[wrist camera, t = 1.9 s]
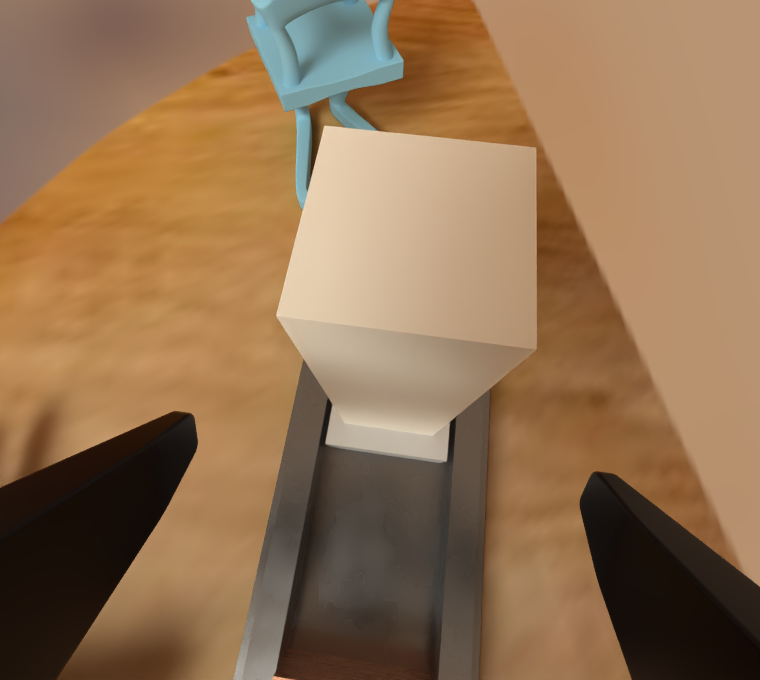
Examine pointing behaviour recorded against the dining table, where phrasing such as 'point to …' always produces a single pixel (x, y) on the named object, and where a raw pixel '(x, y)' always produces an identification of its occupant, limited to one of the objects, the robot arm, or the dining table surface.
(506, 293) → the slider
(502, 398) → the dining table surface
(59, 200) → the dining table surface
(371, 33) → the chair
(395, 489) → the grey tray
